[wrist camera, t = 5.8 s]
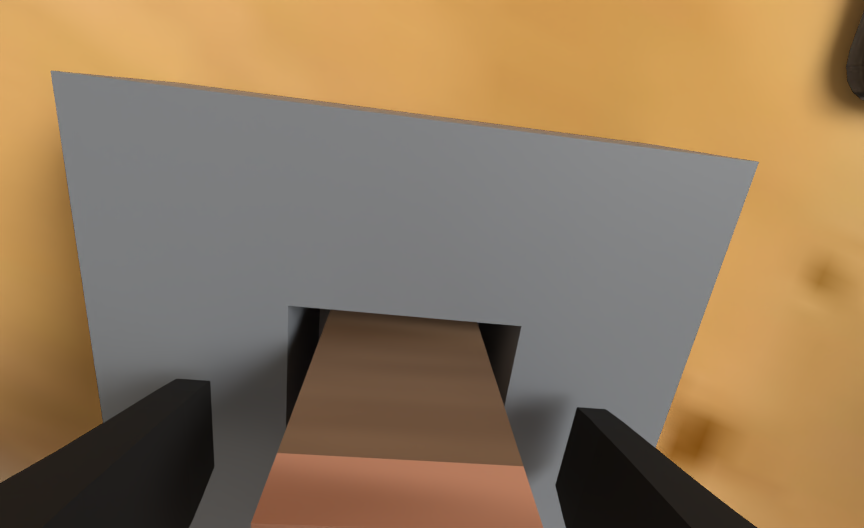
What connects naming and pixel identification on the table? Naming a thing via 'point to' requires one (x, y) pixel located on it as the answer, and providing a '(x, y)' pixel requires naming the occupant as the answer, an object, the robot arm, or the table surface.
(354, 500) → the peg
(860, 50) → the phone
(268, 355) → the socket block
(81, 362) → the table surface
